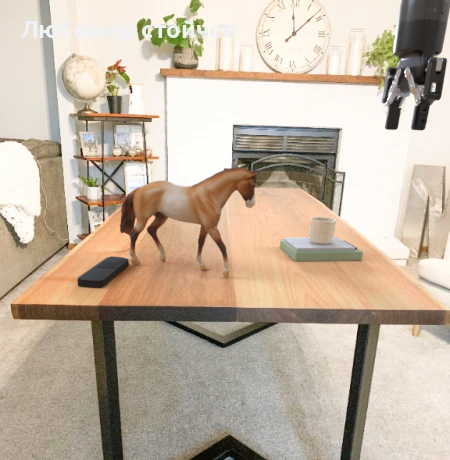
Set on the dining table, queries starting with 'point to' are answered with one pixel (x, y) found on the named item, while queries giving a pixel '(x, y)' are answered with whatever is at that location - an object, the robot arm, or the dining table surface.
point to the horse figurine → (186, 208)
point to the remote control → (103, 272)
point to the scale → (319, 250)
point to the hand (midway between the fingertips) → (403, 129)
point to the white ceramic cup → (321, 230)
